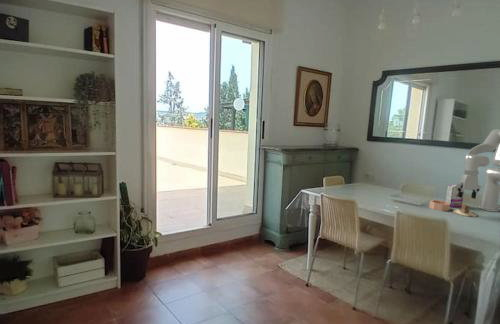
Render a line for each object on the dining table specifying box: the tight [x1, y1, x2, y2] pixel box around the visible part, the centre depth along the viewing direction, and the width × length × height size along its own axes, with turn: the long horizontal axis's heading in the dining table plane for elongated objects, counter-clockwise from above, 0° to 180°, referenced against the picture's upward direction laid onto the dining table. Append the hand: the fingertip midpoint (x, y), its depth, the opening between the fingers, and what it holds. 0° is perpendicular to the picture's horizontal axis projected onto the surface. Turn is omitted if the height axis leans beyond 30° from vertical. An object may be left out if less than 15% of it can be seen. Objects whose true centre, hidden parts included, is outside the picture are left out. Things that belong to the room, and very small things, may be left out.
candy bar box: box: [445, 184, 465, 208], centre depth 241 cm, size 11×5×16 cm, turn 105°
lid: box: [452, 204, 478, 218], centre depth 223 cm, size 14×14×6 cm
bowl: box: [428, 199, 451, 212], centre depth 233 cm, size 12×12×5 cm
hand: (466, 197), depth 222 cm, fingers open, 9 cm apart
